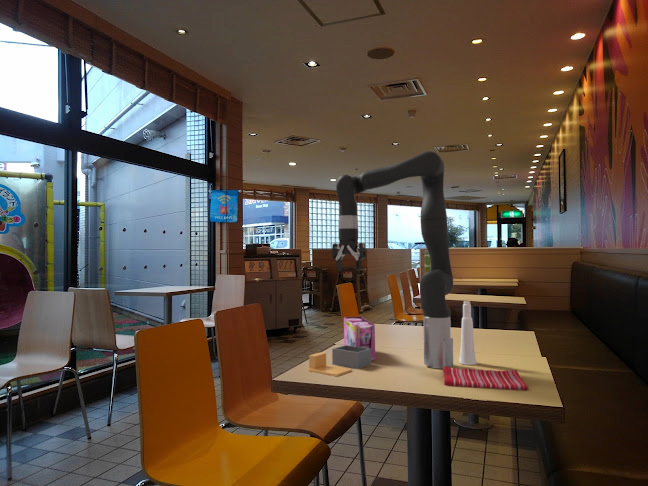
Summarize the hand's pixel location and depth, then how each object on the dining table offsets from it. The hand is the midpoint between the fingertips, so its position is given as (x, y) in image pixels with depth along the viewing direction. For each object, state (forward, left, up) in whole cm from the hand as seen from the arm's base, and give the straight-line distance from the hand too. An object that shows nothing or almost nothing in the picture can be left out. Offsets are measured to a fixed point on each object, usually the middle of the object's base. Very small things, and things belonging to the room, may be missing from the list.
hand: (348, 270), depth 175 cm
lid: (-8, +22, -33) cm, 40 cm away
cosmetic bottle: (-39, -18, -33) cm, 54 cm away
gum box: (-1, -5, -33) cm, 34 cm away
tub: (-8, +10, -33) cm, 35 cm away
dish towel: (-51, +1, -34) cm, 61 cm away
